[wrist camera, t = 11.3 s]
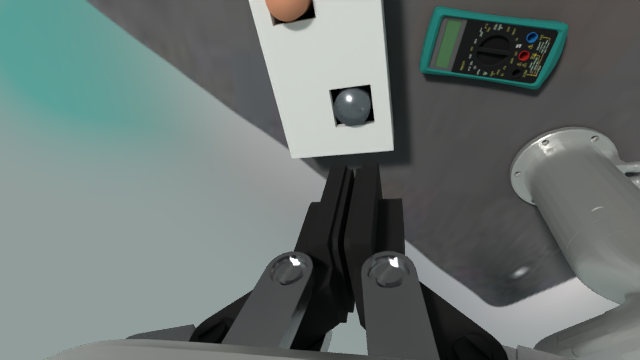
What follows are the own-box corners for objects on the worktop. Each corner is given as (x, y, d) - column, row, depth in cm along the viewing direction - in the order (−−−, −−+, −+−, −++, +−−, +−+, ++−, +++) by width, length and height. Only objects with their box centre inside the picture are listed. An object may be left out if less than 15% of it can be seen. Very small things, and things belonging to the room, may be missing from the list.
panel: (375, -99, 34) (371, -107, 29) (393, 130, 48) (393, 150, 43) (251, -65, 38) (230, -68, 33) (301, 139, 52) (291, 158, 47)
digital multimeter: (536, 84, 42) (544, 93, 39) (416, 67, 43) (417, 74, 41) (566, 21, 37) (578, 25, 35) (433, 4, 39) (435, 7, 36)
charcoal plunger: (370, 74, 43) (367, 88, 39) (374, 106, 45) (372, 123, 41) (337, 79, 44) (330, 93, 40) (342, 110, 46) (336, 127, 42)
